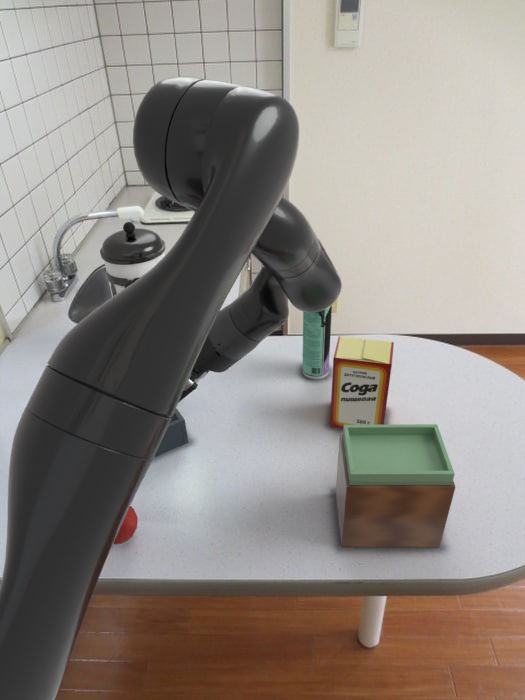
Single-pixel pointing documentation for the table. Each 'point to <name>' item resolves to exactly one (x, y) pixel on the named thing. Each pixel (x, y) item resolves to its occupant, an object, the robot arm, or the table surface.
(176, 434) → the dark grey open box
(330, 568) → the table surface
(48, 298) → the table surface
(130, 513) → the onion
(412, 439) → the tray
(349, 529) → the riser
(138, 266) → the coffee press
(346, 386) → the baking soda box
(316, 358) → the spray can
